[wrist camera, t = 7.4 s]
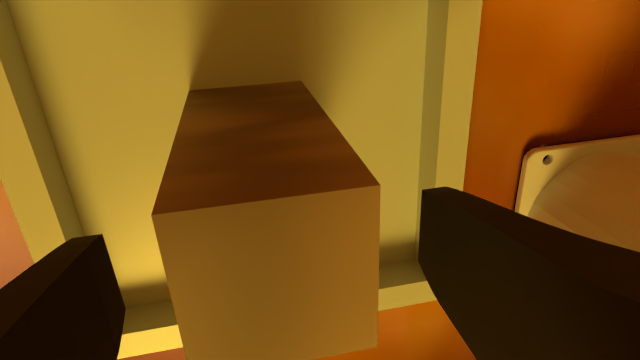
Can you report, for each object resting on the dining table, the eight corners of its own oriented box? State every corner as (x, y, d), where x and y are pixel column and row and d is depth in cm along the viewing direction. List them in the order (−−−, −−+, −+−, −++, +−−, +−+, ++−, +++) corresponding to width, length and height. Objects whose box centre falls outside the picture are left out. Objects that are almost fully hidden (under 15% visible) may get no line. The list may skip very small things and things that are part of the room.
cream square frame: (459, -113, 15) (495, -126, 13) (431, 268, 22) (451, 297, 20) (-65, -100, 12) (-120, -115, 10) (91, 326, 19) (76, 366, 17)
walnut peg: (301, 80, 16) (380, 184, 8) (307, 179, 18) (377, 347, 10) (189, 90, 15) (151, 215, 7) (206, 192, 17) (192, 383, 9)
